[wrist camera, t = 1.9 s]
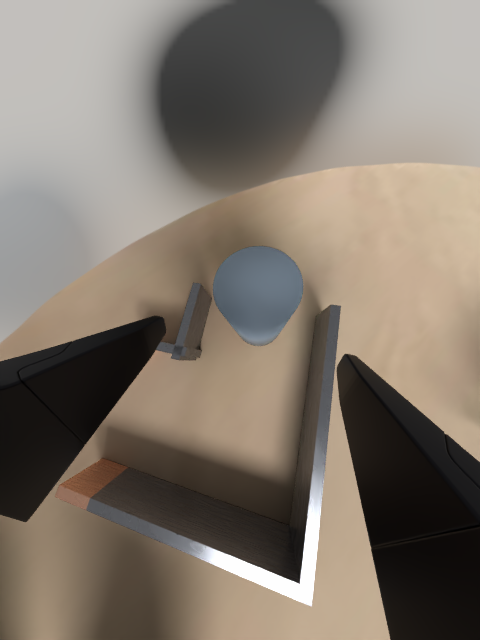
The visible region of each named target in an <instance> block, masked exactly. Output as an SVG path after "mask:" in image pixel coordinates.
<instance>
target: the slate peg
mask: <svg viewBox="0 0 480 640" xmlns="http://www.w3.org/2000/svg"><path fill="white" fill-rule="evenodd" d="M302 294H303V279H302V275H301V273H300V270H299V268H298V266H297V265H296V264H295V262H294V261H293V260H292V259H291V258H290V257H289V256H288V255H286V254H285V253H283V252H281V251H279V250H277V249H274V248H271V247H266V246H253V247H248V248H244V249H241V250H239V251H237V252H235V253H233V254H232V255H231V256H229V257H228V258H227V259H226V260H225V261H224V262H223V263H222V264H221V266H220V267H219V269H218V271H217V273H216V275H215V278H214V283H213V295H214V300H215V303H216V305H217V307H218V309H219V310H220V312H221V313H222V314H223V316H224V317H225V318H226V319H227V321H228V322H229V323H230V324H231V326H232V327H233V328H234V329H235V331H236V332H237V333H238V334H239V336H240V337H241V338H242V339H243V340H244V341H245V342H247V343H248V344H251V345H254V346H263V345H267V344H269V343H271V342H272V341H273V340H274V339H275V338H276V337H277V336H278V334H279V333H280V332H281V330H282V329H283V327H284V326H285V324H286V323H287V322H288V320H289V319H290V317H291V316H292V314H293V313H294V312H295V310H296V309H297V307H298V305H299V303H300V301H301V298H302Z"/></svg>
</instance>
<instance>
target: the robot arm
mask: <svg viewBox="0 0 480 640" xmlns="http://www.w3.org/2000/svg"><path fill="white" fill-rule="evenodd" d="M165 333H166V326H165V321H164V318H163V317H160V316H152V317H149V318H146V319H142V320H139V321H136V322H133V323H129V324H126V325H123V326H120V327H116V328H113V329H110V330H107V331H103V332H100V333H97V334H94V335H91V336H87V337H84V338H81V339H78V340H74V341H71V342H68V343H65V344H61V345H58V346H55V347H51V348H48V349H44V350H41V351H37V352H34V353H30V354H26V355H23V356H19V357H15V358H11V359H8V360H4V361H0V515H3V516H6V517H10V518H13V519H16V520H20V521H23V522H27V521H28V519H29V518H30V517H31V516H32V515H33V514H34V512H35V511H36V510H37V508H38V507H39V506H40V504H41V503H42V502H43V500H44V499H45V498H46V496H47V495H48V494H49V492H50V491H51V490H52V488H53V487H54V486H55V484H56V483H57V482H58V480H59V479H60V478H61V476H62V475H63V474H64V472H65V471H66V470H67V468H68V467H69V466H70V464H71V463H72V462H73V460H74V459H75V458H76V456H77V455H78V454H79V452H80V451H81V450H82V449H83V447H84V446H85V444H86V443H87V442H88V440H89V439H90V438H91V436H92V435H93V434H94V432H95V431H96V430H97V428H98V427H99V426H100V424H101V423H102V422H103V420H104V419H105V418H106V416H107V415H108V414H109V412H110V411H111V410H112V409H113V407H114V406H115V405H116V403H117V402H118V401H119V399H120V398H121V397H122V395H123V394H124V393H125V391H126V390H127V389H128V387H129V386H130V385H131V383H132V382H133V381H134V379H135V378H136V377H137V375H138V374H139V373H140V371H141V370H142V369H143V367H144V366H145V365H146V363H147V362H148V361H149V359H150V358H151V357H152V355H153V353H154V352H155V350H156V348H157V347H158V345H159V343H160V342H161V340H162V339H163V337H164V335H165ZM337 380H338V391H339V400H340V406H341V411H342V416H343V421H344V425H345V430H346V434H347V439H348V444H349V448H350V453H351V458H352V462H353V467H354V471H355V476H356V481H357V485H358V490H359V495H360V499H361V504H362V509H363V513H364V518H365V522H366V527H367V532H368V536H369V541H370V546H371V551H372V556H373V560H374V565H375V570H376V574H377V579H378V583H379V588H380V593H381V597H382V602H383V607H384V611H385V616H386V620H387V625H388V630H389V634H390V639H391V640H480V462H479V461H478V460H476V459H475V458H474V457H473V456H472V455H470V454H469V453H468V452H467V451H466V450H464V449H463V448H462V447H461V446H460V445H459V444H457V443H456V442H455V441H454V440H453V439H452V438H451V437H449V436H448V435H447V434H445V433H444V431H442V430H441V429H440V428H439V427H438V426H437V425H435V424H434V423H433V422H432V421H431V420H430V419H428V418H427V417H426V416H425V415H424V414H423V413H422V412H420V411H419V410H418V409H417V408H416V407H415V406H413V405H412V404H411V403H410V402H409V401H408V400H406V399H405V398H404V397H403V396H402V395H401V394H399V393H398V392H397V391H396V390H395V389H394V388H393V387H391V386H390V385H389V384H388V383H387V382H386V381H384V380H383V379H382V378H381V377H380V376H379V375H377V374H376V373H375V372H374V371H373V370H372V369H370V368H369V367H368V366H367V365H366V364H365V363H364V362H362V361H361V360H360V359H359V358H358V357H357V356H355V355H350V354H345V355H344V356H343V357H342V359H341V361H340V362H339V364H338V366H337Z"/></svg>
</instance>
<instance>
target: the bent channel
mask: <svg viewBox="0 0 480 640" xmlns="http://www.w3.org/2000/svg"><path fill="white" fill-rule="evenodd" d="M211 300H212V298H211V296H210V295H209V294H208V293H207V291H206V290H205V289H204V287H203V286H202V285H201V284H199V283H193V285H192V288H191V292H190V295H189V299H188V302H187V305H186V309H185V312H184V316H183V319H182V322H181V326H180V329H179V333H178V336H177V339H176V343H175V344H171V343H166V342H162V341H161V342H160V343H159V345H158V347H157V348H156V350H158V351H163V352H167V353H171V354H172V356H171V358H172V359H176V360H196V357H199V358H200V355H201V351H202V350H198V349H199V346H200V342H201V338H202V334H203V330H204V327H205V323H206V319H207V315H208V311H209V308H210V304H211ZM340 308H341V306H337V305H330V306H328V307H327V308H326V309H325V310H323V311H322V312H321V313H320V314H318V315H317V316H316V321H315V329H314V337H313V345H312V353H311V361H310V369H309V376H308V384H307V392H306V400H305V408H304V416H303V424H302V432H301V440H300V447H299V455H298V463H297V471H296V479H295V487H294V495H293V503H292V511H291V518H290V526H288V525H285V524H283V523H280V522H277V521H274V520H272V519H269V518H266V517H263V516H261V515H258V514H255V513H252V512H250V511H247V510H244V509H241V508H239V507H236V506H233V505H230V504H228V503H225V502H222V501H219V500H217V499H214V498H211V497H208V496H206V495H203V494H200V493H197V492H195V491H192V490H189V489H186V488H184V487H181V486H178V485H175V484H173V483H170V482H167V481H164V480H162V479H159V478H156V477H153V476H151V475H148V474H145V473H142V472H140V471H137V470H134V469H131V468H129V467H126V466H123V465H120V464H118V463H115V462H112V461H109V460H107V459H104V458H102V459H101V460H99V461H98V462H96V463H94V464H93V465H91V466H89V467H88V468H86V469H85V470H83V471H81V472H80V473H78V474H77V475H75V476H73V477H72V478H70V479H68V480H67V481H65V482H64V483H62V484H60V485H59V487H58V490H57V492H56V495H55V497H56V498H59V499H61V500H63V501H66V502H68V503H70V504H73V505H75V506H78V507H80V508H82V509H85V510H87V511H89V512H92V513H94V514H96V515H99V516H101V517H103V518H106V519H108V520H110V521H113V522H115V523H117V524H120V525H122V526H124V527H127V528H129V529H131V530H134V531H136V532H138V533H141V534H143V535H145V536H148V537H150V538H152V539H155V540H157V541H159V542H162V543H164V544H167V545H169V546H171V547H174V548H176V549H178V550H181V551H183V552H185V553H188V554H190V555H192V556H195V557H197V558H199V559H202V560H204V561H206V562H209V563H211V564H213V565H216V566H218V567H220V568H223V569H225V570H227V571H230V572H232V573H234V574H237V575H239V576H241V577H244V578H246V579H248V580H251V581H253V582H256V583H258V584H260V585H263V586H265V587H267V588H270V589H272V590H274V591H277V592H279V593H281V594H284V595H286V596H288V597H291V598H293V599H295V600H298V601H300V602H302V603H305V604H307V605H309V606H312V597H313V586H314V576H315V566H316V555H317V545H318V535H319V524H320V514H321V504H322V494H323V483H324V473H325V463H326V452H327V442H328V432H329V422H330V411H331V401H332V391H333V380H334V370H335V360H336V349H337V339H338V329H339V319H340Z"/></svg>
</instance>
